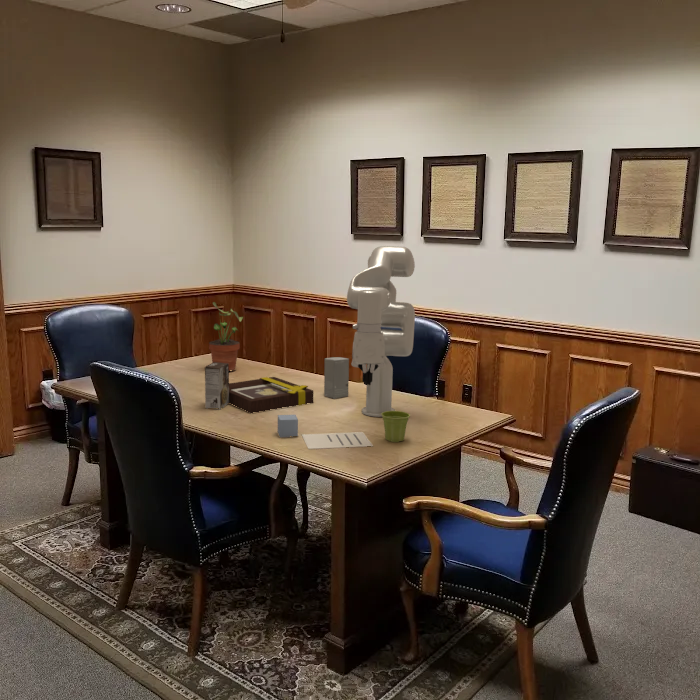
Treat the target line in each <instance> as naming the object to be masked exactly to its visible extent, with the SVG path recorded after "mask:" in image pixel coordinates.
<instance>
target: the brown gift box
mask: <svg viewBox="0 0 700 700" xmlns="http://www.w3.org/2000/svg"><path fill="white" fill-rule="evenodd" d="M308 387H309V385H303V384H302V385H301V384H300V385H299V384H295V383H293V382H290V381H288V380H284V379H282V378H280V377H276V376H272V377H268V376H266V377H260V378H257V379H256V378H255V379H251V380H243V381H238V382H231V383H230V382H229V403H231V404H233V405H235V406H237V407H239V408H238V409H240V408H242V409H244V410H246V411H245V412H247V411H248V412H247V413H249V412H250V413H249V414H251V413H252V414H254V413H253V412H258V413H260V412H259V411H263V412H266V411H265V410H269V411H271V410H270V409H275V410H278V409H277V408H281V409H283V408H282V407H287V408H290V407H289V406H292V407H297V406H296V405H299V406H303V405H302V404H305V405H308V404H307V403H310V404H313V403H314V389H313V390H312V389H310V388H308ZM231 404H230V405H231ZM233 405H232V406H233ZM235 406H234V407H235ZM237 407H236V408H237ZM242 409H241V410H242ZM244 410H243V411H244Z"/></svg>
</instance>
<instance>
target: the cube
mask: <svg viewBox="0 0 700 700" xmlns="http://www.w3.org/2000/svg"><path fill="white" fill-rule="evenodd" d="M298 433H299V419H298V416H297V414H278V415H277V435H278V437H279V436H280V437H279V438H294V437H293V436H298V437H299V435H298ZM290 436H292V437H290Z"/></svg>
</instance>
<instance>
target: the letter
mask: <svg viewBox="0 0 700 700" xmlns="http://www.w3.org/2000/svg"><path fill="white" fill-rule="evenodd" d="M301 437H302V439H303V441H304V443H305V445H306V447H307V450H320V449H321V450H323V449H324V450H325V449H343V448H346V447H349V448H367V446H371V447H374V445H373V443H372V442H371V441H370V439H368V437H367V435H366V434H365V433H364V432H363V431H356V432H355V431H353V432H334V433H331V432H328V433H327V432H326V433H308V434H304V433H303V434H301Z"/></svg>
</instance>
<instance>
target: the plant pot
mask: <svg viewBox="0 0 700 700" xmlns="http://www.w3.org/2000/svg"><path fill="white" fill-rule="evenodd" d="M381 415H382V417H381V418H382V420H383V428H384V436H385V437H384V439H385V440H386V441H388V442H392V443H399V442H403V441H405V434H406V430H407V425H408V421H409V418H410V417H411V414H409V413H408V412H405V411H400V410H395V411H386V412H383V413H381Z"/></svg>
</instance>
